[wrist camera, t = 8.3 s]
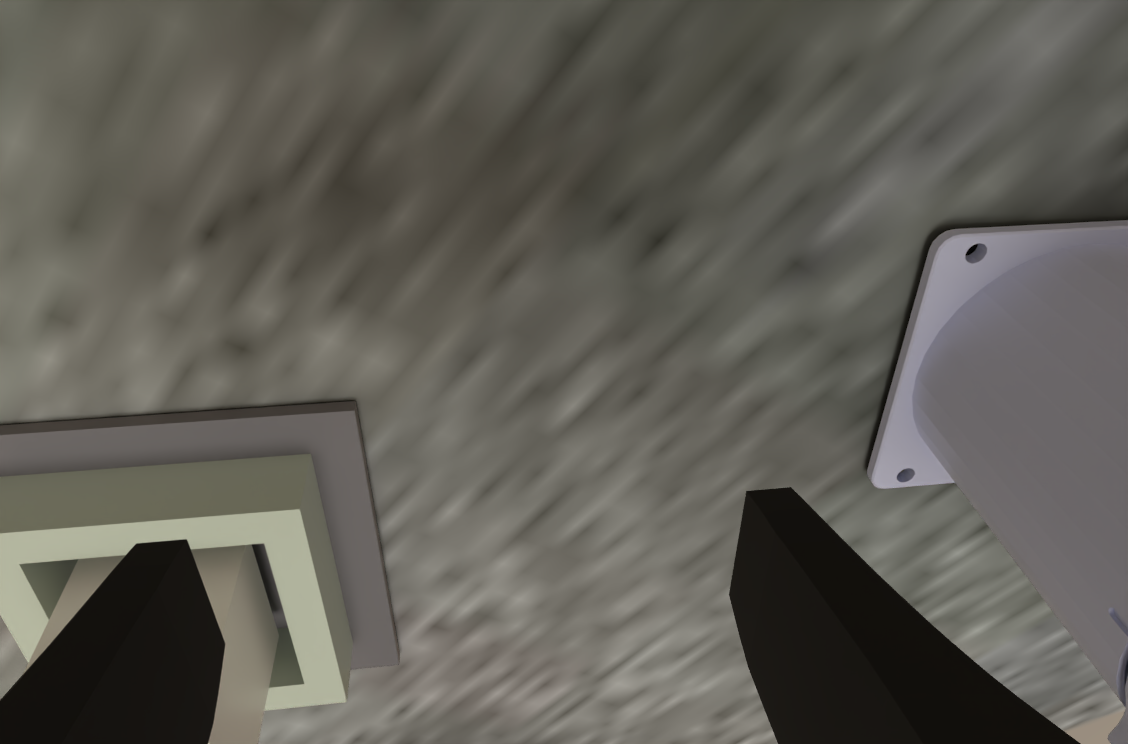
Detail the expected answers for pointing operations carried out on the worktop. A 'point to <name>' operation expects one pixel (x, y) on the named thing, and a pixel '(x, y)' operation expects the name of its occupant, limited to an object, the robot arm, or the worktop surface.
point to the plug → (239, 619)
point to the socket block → (210, 523)
